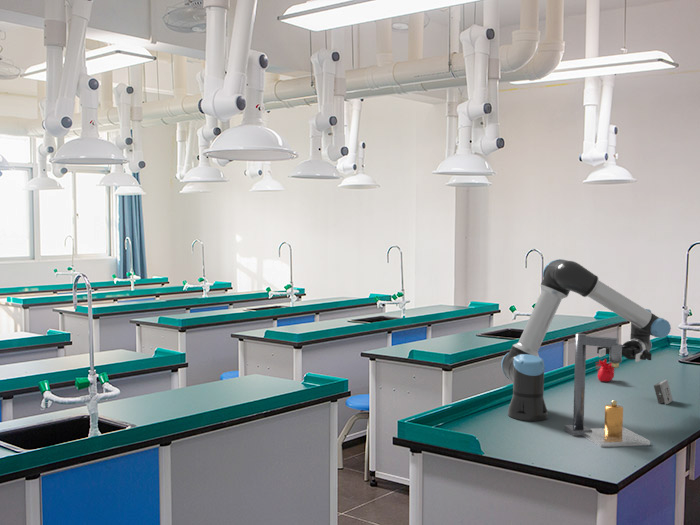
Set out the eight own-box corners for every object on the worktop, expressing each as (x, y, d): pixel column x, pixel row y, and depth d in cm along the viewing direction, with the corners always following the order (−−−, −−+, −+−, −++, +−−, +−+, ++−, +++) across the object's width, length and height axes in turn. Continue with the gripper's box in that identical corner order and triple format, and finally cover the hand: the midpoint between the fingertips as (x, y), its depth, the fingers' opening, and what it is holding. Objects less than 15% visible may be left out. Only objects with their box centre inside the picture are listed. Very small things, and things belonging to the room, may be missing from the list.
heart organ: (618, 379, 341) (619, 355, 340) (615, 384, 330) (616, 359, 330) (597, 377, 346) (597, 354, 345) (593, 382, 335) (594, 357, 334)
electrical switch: (667, 405, 292) (665, 383, 292) (654, 404, 295) (652, 382, 295) (673, 401, 299) (671, 379, 299) (660, 400, 302) (659, 379, 302)
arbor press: (591, 447, 233) (594, 341, 231) (564, 430, 252) (567, 332, 251) (649, 445, 236) (653, 340, 235) (619, 428, 256) (622, 332, 254)
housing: (602, 435, 242) (603, 401, 241) (606, 431, 247) (606, 398, 246) (620, 438, 239) (621, 404, 238) (623, 434, 244) (624, 400, 243)
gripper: (665, 362, 271) (652, 370, 255) (601, 354, 286) (584, 361, 270) (666, 343, 271) (653, 350, 254) (602, 336, 286) (585, 342, 269)
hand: (617, 356), depth 262 cm, fingers open, 13 cm apart
